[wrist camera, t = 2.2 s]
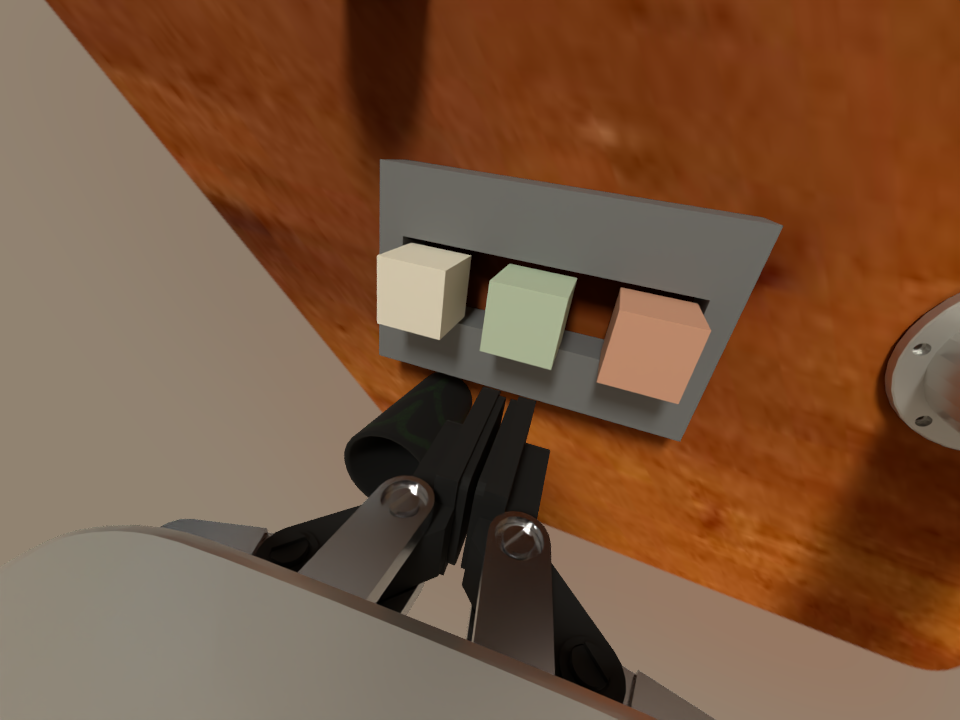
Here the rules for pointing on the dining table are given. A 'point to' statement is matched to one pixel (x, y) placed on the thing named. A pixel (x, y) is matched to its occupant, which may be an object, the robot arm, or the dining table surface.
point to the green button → (526, 314)
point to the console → (579, 248)
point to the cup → (405, 431)
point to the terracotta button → (652, 345)
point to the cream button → (422, 289)
